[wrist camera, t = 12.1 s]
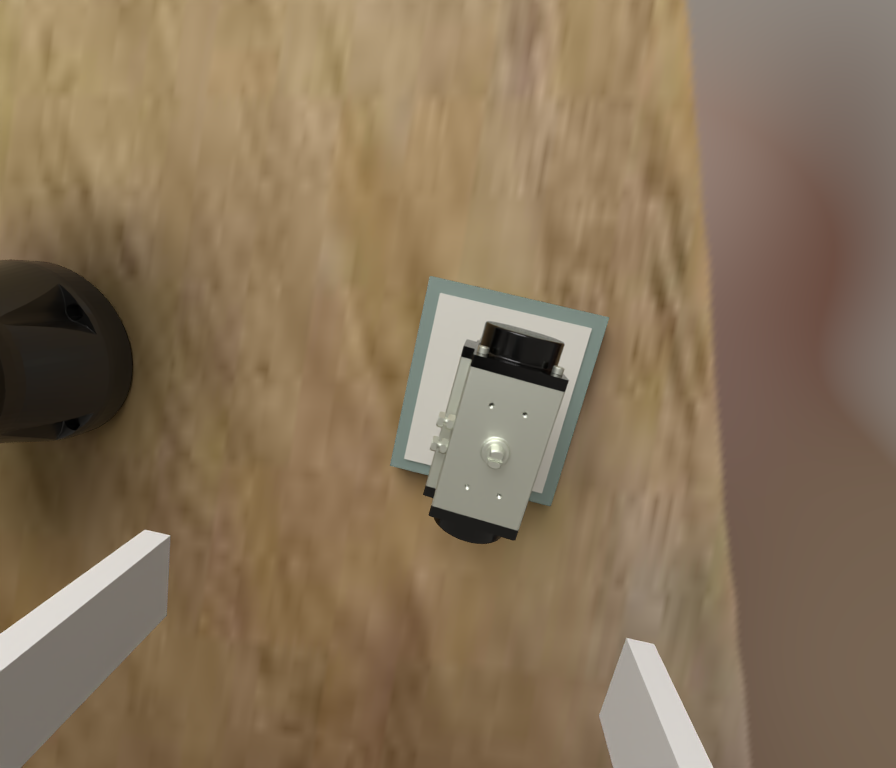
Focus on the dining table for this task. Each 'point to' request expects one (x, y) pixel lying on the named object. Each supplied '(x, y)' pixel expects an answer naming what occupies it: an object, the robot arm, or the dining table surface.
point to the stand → (463, 317)
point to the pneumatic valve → (495, 432)
